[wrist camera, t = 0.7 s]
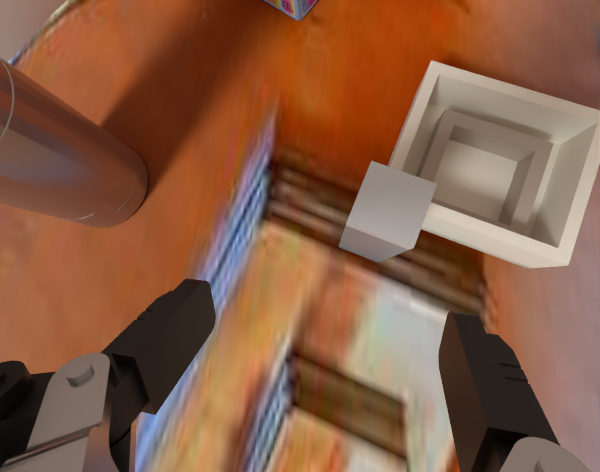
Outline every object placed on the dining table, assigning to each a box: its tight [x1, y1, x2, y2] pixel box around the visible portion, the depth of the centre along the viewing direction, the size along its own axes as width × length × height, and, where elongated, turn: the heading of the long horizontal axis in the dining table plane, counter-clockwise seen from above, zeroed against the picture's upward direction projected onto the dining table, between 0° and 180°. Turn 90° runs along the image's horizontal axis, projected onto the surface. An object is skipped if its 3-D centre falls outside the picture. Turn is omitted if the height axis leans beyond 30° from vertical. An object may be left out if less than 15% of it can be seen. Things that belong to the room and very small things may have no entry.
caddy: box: [387, 61, 600, 269], centre depth 27 cm, size 15×13×5 cm
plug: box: [339, 161, 437, 262], centre depth 24 cm, size 4×4×12 cm
